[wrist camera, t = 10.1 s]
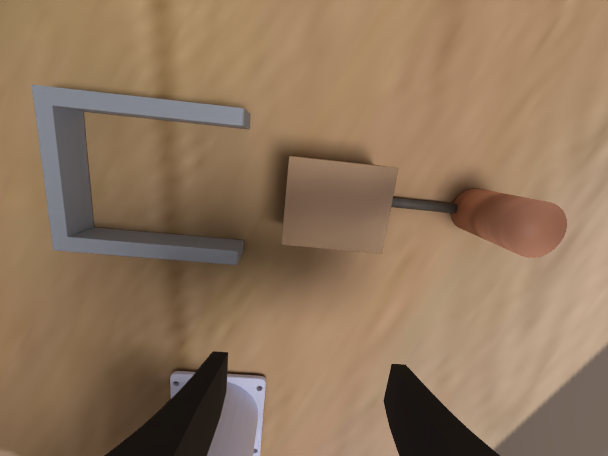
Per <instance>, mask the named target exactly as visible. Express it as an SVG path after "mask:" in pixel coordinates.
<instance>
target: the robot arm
mask: <svg viewBox="0 0 608 456" xmlns="http://www.w3.org/2000/svg"><path fill="white" fill-rule="evenodd" d="M227 364H228V352H212V353H211V354H210V355H209V357H208V358H207V359H206V361H205V362H204V363H203V364H202V365H201V367H200V368H199V369H198V370H197V371H196V372H188V371H175V372H173V373H172V375H171V377H170V391H171V399H170V400H169V401H168V402H167V403H166V404H165V405H164V406H163V407H162V408H161V409H160V410H159V411H158V412H157V413H156V414H155V415H154V416H153V417H152V418H151V419H149V420H148V421H147V422H146V423H145V424H144V425H143V426H141V427H140V428H139V429H138V430H137V431H135V432H134V433H133V434H132V435H130V436H129V437H128V438H127V439H126V440H124V441H123V442H122V443H121V444H119V445H118V446H117V447H115V448H114V449H113V450H111V451H110V452H109V453H107V454H106V455H105V456H260V450H261V437H262V424H263V412H264V399H265V387H266V379H265V377H263V376H256V375H239V374H227ZM175 381H177V382H179V383H177V382H175ZM258 386H261V387H258ZM384 405H385V409H386V414H387V418H388V422H389V426H390V430H391V433H392V435H393V438H394V441H395V444H396V447H397V450H398V453H399V456H499V454H497V453H496V452H495V451H494V450H492V449H491V448H490V447H489V446H488V445H486V444H485V443H484V442H483V441H482V440H481V439H479V438H478V437H477V436H476V435H475V434H474V433H472V432H471V431H470V430H469V429H468V428H467V427H466V426H465V425H464V424H463V423H462V422H461V421H459V420H458V419H457V418H456V417H455V416H454V415H453V414H452V413H451V412H450V411H449V410H448V409H447V408H446V407H445V406H444V405H443V404H442V403H441V402H440V401H439V400H438V399H437V398H436V397H435V396H434V395H433V394H432V393H431V392H430V390H429V389H428V388H427V387H426V386H425V385H424V384H423V383H422V382H421V381H420V380H419V379H418V378H417V377H416V375H415V374H414V373H413V372H412V371H411V370H410V369H409V368H408V367H407V366H406V365H401V364H392V365H391V370H390V374H389V379H388V383H387V388H386V392H385V397H384Z"/></svg>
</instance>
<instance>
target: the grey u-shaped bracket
mask: <svg viewBox="0 0 608 456" xmlns="http://www.w3.org/2000/svg"><path fill="white" fill-rule="evenodd" d="M32 91H33V99H34V107H35V114H36V122H37V129H38V137H39V145H40V152H41V160H42V168H43V175H44V183H45V190H46V198H47V206H48V213H49V221H50V229H51V236H52V244H53V250H56V251H69V252H81V253H93V254H106V255H118V256H131V257H143V258H156V259H168V260H180V261H193V262H205V263H218V264H230V265H237V264H238V262H239V260H240V258H241V256H242V254H243V252H244V240H236V239H224V238H213V237H201V236H189V235H177V234H166V233H154V232H142V231H131V230H119V229H107V228H95V227H94V223H93V212H92V201H91V190H90V179H89V168H88V157H87V146H86V135H85V124H84V113H83V112H92V113H101V114H110V115H120V116H129V117H138V118H148V119H157V120H166V121H176V122H185V123H194V124H204V125H213V126H222V127H232V128H241V129H249V128H250V113H249V112H247V111H246V110H245V109H244V108H237V107H228V106H219V105H210V104H201V103H192V102H183V101H174V100H165V99H156V98H147V97H138V96H129V95H120V94H111V93H102V92H93V91H84V90H75V89H66V88H57V87H48V86H39V85H32Z"/></svg>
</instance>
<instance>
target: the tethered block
mask: <svg viewBox="0 0 608 456" xmlns="http://www.w3.org/2000/svg"><path fill="white" fill-rule="evenodd" d="M397 173H398V168H394V167H387V166H380V165H372V164H363V163H354V162H345V161H336V160H326V159H317V158H308V157H299V156H289V164H288V175H287V187H286V198H285V209H284V220H283V231H282V242H281V245H291V246H302V247H313V248H324V249H335V250H346V251H356V252H367V253H378V254H382V253H383V248H384V243H385V237H386V232H387V227H388V221H389V216H390V211H391V207H397V208H407V209H416V210H426V211H436V212H446V213H451V217H452V220H453V222H454V223H455V224H456V225H457V226H458V227H459V228H461V229H463V230H466V231H468V232H470V233H472V234H474V235H477V236H479V237H481V238H483V239H485V240H488V241H490V242H492V243H494V244H496V245H499V246H501V247H503V248H505V249H507V250H510V251H512V252H514V253H516V254H519V255H521V256H523V257H527V258H536V257H540V256H543V255H546V254H548V253H549V252H551V251H552V250H554V249H555V248H556V247H557V246H558V245H559V244H560V242H561V241H562V239H563V237H564V235H565V232H566V228H567V219H566V216H565V213H564V212H563V210H562V209H561V208H560V207H559V206H557V205H556V204H553V203H550V202H545V201H540V200H535V199H529V198H524V197H519V196H514V195H509V194H503V193H498V192H493V191H488V190H483V189H469V190H466V191H464V192H463V193H461V194H460V195H459V196H458V197H457V198H456V199H455V201H454V203H453V204H452V203H442V202H432V201H423V200H413V199H403V198H394V197H393V194H394V189H395V184H396V178H397Z"/></svg>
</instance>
